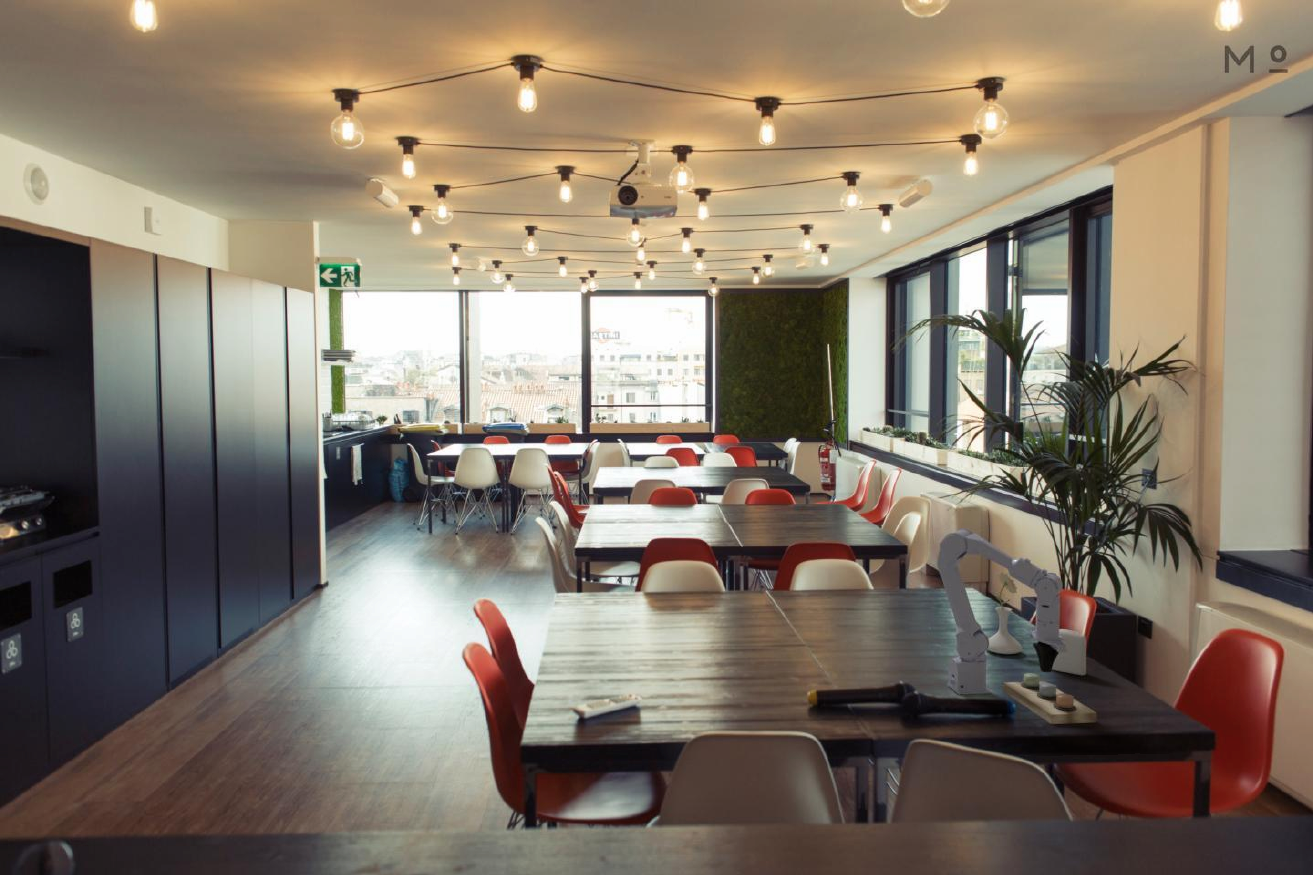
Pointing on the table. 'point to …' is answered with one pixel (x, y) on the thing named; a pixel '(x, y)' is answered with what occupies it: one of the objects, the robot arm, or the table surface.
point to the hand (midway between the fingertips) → (1046, 671)
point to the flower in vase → (1004, 624)
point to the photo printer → (1072, 653)
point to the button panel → (1048, 704)
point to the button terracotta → (1065, 700)
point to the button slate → (1047, 690)
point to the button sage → (1031, 679)
